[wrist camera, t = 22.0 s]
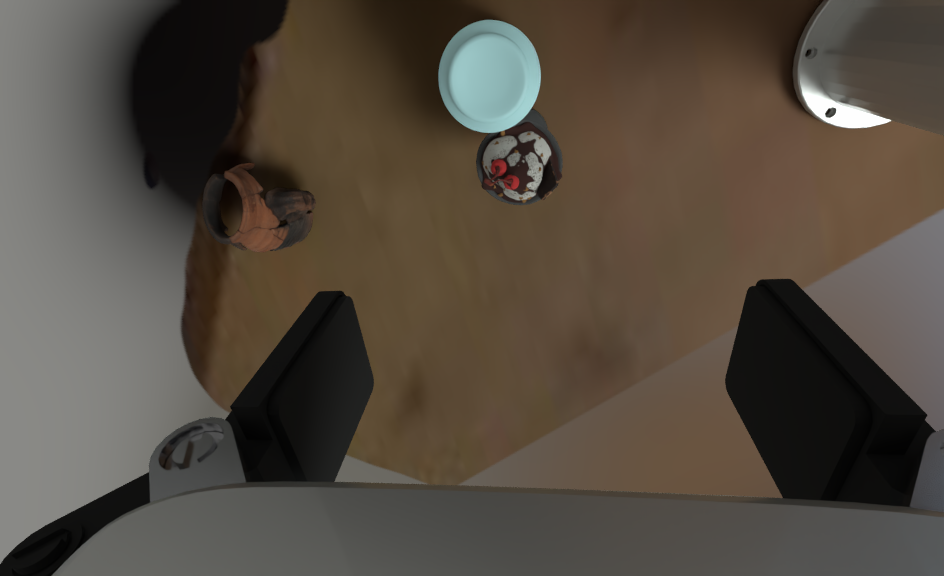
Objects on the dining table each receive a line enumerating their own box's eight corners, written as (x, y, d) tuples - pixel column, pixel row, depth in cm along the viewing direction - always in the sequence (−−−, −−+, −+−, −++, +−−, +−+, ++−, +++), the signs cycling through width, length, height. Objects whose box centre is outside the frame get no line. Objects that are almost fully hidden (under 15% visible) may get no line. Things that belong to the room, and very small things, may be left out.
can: (420, 45, 30) (449, 44, 40) (458, 148, 33) (476, 122, 43) (522, 0, 28) (525, 11, 38) (553, 113, 31) (547, 95, 41)
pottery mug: (275, 257, 54) (208, 263, 47) (256, 180, 54) (186, 174, 46) (348, 233, 48) (285, 235, 41) (327, 146, 48) (259, 133, 41)
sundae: (474, 119, 43) (450, 166, 31) (538, 83, 41) (540, 117, 28) (506, 179, 46) (495, 244, 33) (567, 148, 44) (581, 206, 31)
